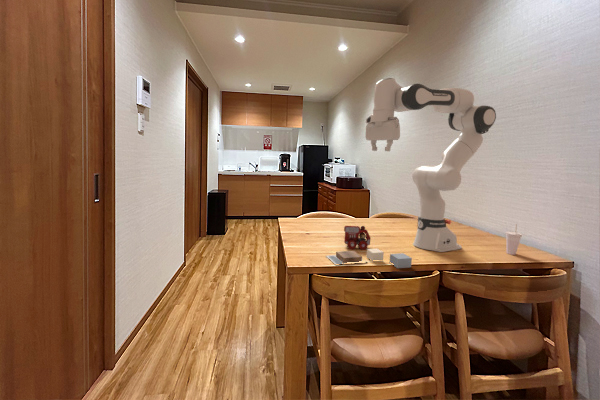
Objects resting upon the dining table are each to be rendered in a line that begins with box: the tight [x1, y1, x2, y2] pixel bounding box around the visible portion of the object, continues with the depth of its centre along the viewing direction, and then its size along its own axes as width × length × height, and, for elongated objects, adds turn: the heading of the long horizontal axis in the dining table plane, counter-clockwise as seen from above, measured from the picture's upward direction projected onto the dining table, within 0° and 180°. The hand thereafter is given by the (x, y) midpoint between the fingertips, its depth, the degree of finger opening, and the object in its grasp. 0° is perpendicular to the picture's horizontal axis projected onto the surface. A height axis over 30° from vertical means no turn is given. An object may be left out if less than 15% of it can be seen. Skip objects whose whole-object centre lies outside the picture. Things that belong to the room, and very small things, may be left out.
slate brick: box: [389, 252, 413, 269], centre depth 128 cm, size 6×6×4 cm
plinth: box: [335, 250, 363, 263], centre depth 133 cm, size 8×8×2 cm
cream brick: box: [365, 248, 385, 261], centre depth 134 cm, size 5×5×4 cm
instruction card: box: [325, 254, 344, 265], centre depth 133 cm, size 14×11×1 cm
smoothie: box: [505, 224, 523, 256], centre depth 147 cm, size 6×6×14 cm
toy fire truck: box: [343, 225, 371, 251], centre depth 149 cm, size 7×12×10 cm, turn 90°
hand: (380, 151), depth 139 cm, fingers open, 8 cm apart
